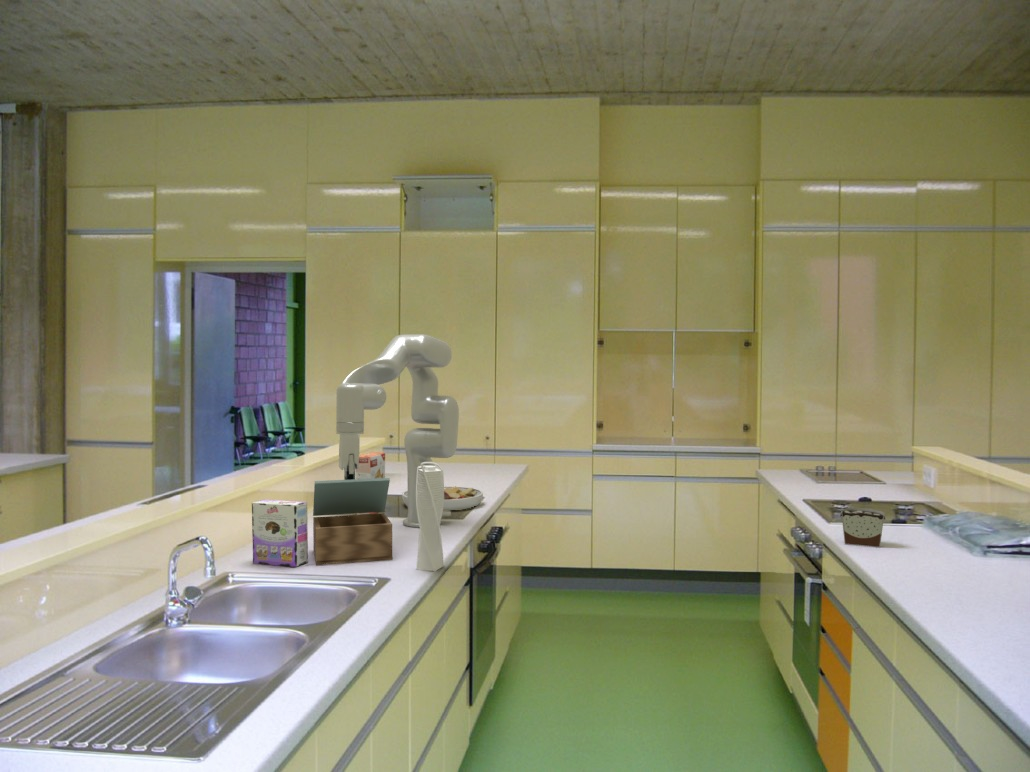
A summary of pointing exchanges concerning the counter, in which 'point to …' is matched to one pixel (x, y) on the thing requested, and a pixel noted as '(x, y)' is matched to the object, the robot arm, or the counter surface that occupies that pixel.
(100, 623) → the counter surface
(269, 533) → the candy box
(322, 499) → the box lid
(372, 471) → the cracker box
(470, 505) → the bowl
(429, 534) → the skyscraper
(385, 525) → the storage box
